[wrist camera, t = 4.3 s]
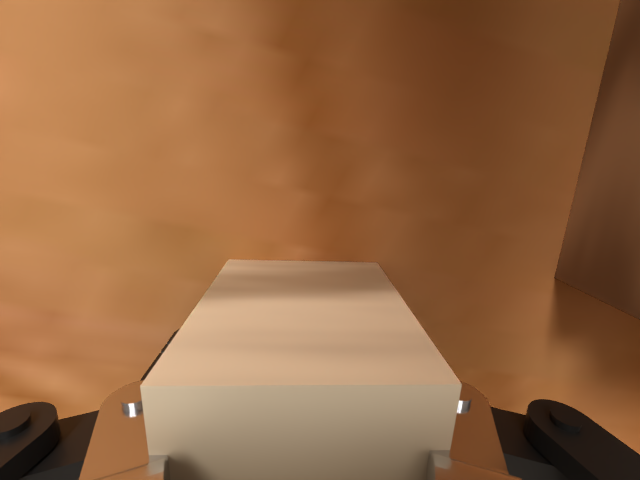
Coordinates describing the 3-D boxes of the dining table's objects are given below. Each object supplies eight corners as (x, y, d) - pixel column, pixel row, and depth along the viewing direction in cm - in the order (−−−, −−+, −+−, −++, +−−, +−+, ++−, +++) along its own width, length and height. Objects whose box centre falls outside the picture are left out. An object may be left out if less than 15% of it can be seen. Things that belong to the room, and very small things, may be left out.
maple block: (228, 259, 11) (140, 386, 5) (377, 262, 11) (462, 384, 5) (233, 387, 12) (167, 608, 6) (366, 386, 12) (424, 595, 6)
